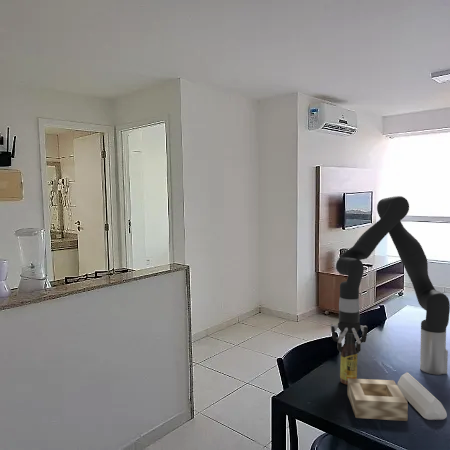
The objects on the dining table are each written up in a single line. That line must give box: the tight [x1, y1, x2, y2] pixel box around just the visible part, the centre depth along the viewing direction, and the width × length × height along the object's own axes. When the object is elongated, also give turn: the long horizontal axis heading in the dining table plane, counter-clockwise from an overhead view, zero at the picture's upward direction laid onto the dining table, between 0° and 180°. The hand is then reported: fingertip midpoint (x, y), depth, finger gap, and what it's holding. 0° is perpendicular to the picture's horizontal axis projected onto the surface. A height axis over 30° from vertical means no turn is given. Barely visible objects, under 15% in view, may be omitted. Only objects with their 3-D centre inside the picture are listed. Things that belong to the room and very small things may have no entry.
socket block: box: [347, 378, 409, 422], centre depth 138 cm, size 16×16×6 cm
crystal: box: [396, 371, 448, 421], centre depth 140 cm, size 7×7×24 cm
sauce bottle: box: [339, 333, 359, 386], centre depth 156 cm, size 6×6×20 cm
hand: (348, 351), depth 156 cm, fingers closed on sauce bottle, 5 cm apart
